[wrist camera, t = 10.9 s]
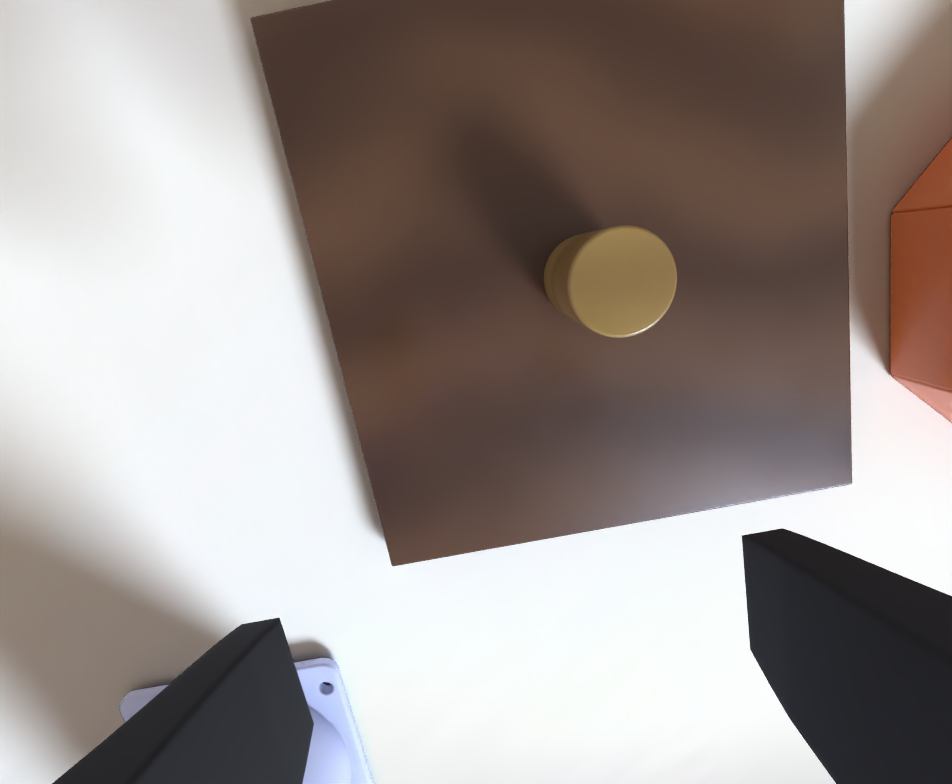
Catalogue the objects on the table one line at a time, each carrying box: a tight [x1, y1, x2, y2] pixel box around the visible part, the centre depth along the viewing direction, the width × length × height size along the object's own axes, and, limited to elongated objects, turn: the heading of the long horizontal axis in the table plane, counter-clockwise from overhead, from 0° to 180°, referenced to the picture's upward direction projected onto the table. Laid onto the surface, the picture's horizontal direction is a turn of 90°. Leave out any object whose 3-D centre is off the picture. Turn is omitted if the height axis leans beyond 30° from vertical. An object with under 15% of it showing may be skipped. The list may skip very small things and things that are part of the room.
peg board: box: [251, 0, 852, 566], centre depth 14 cm, size 16×15×5 cm
